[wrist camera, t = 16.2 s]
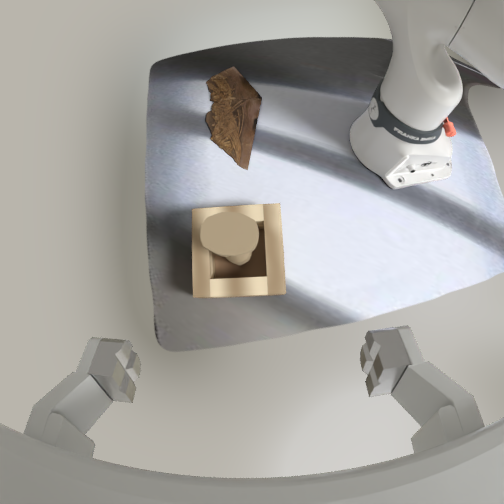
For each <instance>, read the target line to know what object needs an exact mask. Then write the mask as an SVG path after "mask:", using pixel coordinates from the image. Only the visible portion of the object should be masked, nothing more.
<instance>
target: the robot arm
mask: <svg viewBox="0 0 504 504" xmlns="http://www.w3.org/2000/svg"><path fill="white" fill-rule="evenodd" d="M374 1H375V2H376V4H377V5H378V6H379V8H380V9H381V11H382V12H383V14H384V16H385V18H386V20H387V22H388V25H389V27H390V31H391V34H392V39H393V54H392V58H391V62H390V65H389V68H388V70H387V73H386V75H385V78H383V79H382V80H381V81H380V83H379V84H378V86H377V88H376V90H375V92H374V94H373V96H372V99H371V102H370V105H369V107H368V108H367V109H366V111H365V112H364V113H363V114H362V115H361V116H360V117H359V118H358V119H356V120H355V121H354V123H353V124H352V126H351V129H350V143H351V146H352V149H353V151H354V153H355V155H356V156H357V157H358V159H359V160H360V161H361V162H362V163H363V164H364V165H365V166H366V167H367V168H368V169H370V170H371V171H373V172H375V173H376V174H378V175H379V176H381V177H382V179H383V180H384V181H385V182H386V183H387V185H388V186H389V187H391V188H392V189H399V188H404V187H409V186H414V185H419V184H424V183H429V182H434V181H439V180H444V179H448V178H449V177H450V175H451V171H452V162H451V157H452V142H451V138H450V137H452V136H454V135H456V130H455V129H454V127H453V123H452V122H449V121H448V118H447V116H448V115H449V114H450V113H451V111H452V110H453V109H454V108H455V107H456V106H457V104H458V103H459V102H460V100H461V97H462V91H463V88H462V81H461V78H460V75H459V72H458V70H457V68H456V66H455V64H454V63H453V61H452V60H451V58H450V57H449V55H448V53H447V52H446V49H445V47H444V45H445V46H446V47H447V46H448V47H449V48H450V49H452V50H453V51H454V52H456V53H457V54H458V55H460V56H461V57H463V58H464V59H465V60H466V61H468V62H469V63H470V64H471V65H473V66H474V67H475V68H476V69H477V70H479V71H480V72H481V73H482V74H483V75H485V76H486V77H487V78H488V79H489V80H490V81H492V82H493V83H495V84H496V85H498V86H499V87H501V88H502V89H504V0H374ZM446 164H447V165H448V166H447V165H446ZM398 180H400V181H401V182H399V181H398ZM365 340H366V343H365V344H364V345H363V346H362V349H361V353H360V361H361V367H362V371H363V372H365V373H366V374H367V375H368V376H367V379H366V381H365V382H366V386H367V390H368V394H369V397H373V396H379V395H384V394H391V393H392V394H391V395H392V396H393V397H394V398H395V399H396V400H397V401H398V403H400V405H401V406H402V407H403V408H404V409H405V410H406V411H407V412H408V413H409V414H410V415H411V416H412V417H413V418H414V419H415V420H416V421H417V422H418V423H419V424H420V426H421V428H420V430H418V431H417V432H416V433H415V434H414V435H413V437H412V438H411V441H412V445H413V449H414V454H411V455H408V456H404V457H400V458H397V459H393V460H389V461H385V462H381V463H377V464H372V465H367V466H363V467H358V468H352V469H347V470H341V471H335V472H328V473H321V474H312V475H302V476H291V477H277V478H276V477H275V478H215V477H213V478H212V477H198V476H187V475H178V474H169V473H162V472H156V471H149V470H143V469H138V468H133V467H128V466H123V465H118V464H114V463H110V462H106V461H102V460H97V459H94V458H92V457H93V452H94V448H95V443H94V442H93V440H91V439H90V438H89V437H87V436H86V435H85V434H86V433H87V431H88V430H89V429H90V428H91V427H92V426H93V424H94V423H95V422H96V421H97V420H98V418H99V417H100V416H101V415H102V414H103V413H104V412H105V410H106V409H107V408H108V407H109V406H110V405H111V404H112V402H113V401H120V402H129V403H133V399H134V395H135V391H136V386H135V384H134V381H135V380H137V379H138V378H139V375H140V366H141V364H140V359H139V357H138V355H137V353H135V352H134V351H132V347H133V346H132V344H131V343H130V341H129V340H119V339H108V338H97V337H92V338H91V339H90V340H89V341H88V343H87V346H86V348H85V350H84V353H83V355H82V358H81V360H80V363H79V366H78V368H77V370H76V372H72V373H71V374H70V375H68V376H67V377H66V378H65V379H64V380H62V381H61V382H60V383H59V384H58V385H57V386H56V387H54V388H53V389H52V390H51V391H50V392H49V393H47V394H46V395H45V396H44V397H43V398H42V399H41V400H39V401H38V402H37V403H36V404H35V405H34V406H33V409H32V411H31V414H30V417H29V420H28V422H27V425H26V429H25V431H24V434H22V433H20V432H18V431H15V430H13V429H11V428H9V427H7V426H5V425H2V424H0V504H504V417H503V418H501V419H499V420H497V421H495V422H493V423H491V424H489V425H487V426H484V423H483V420H482V418H481V415H480V412H479V410H478V407H477V404H476V401H475V399H474V396H473V395H472V394H470V393H469V392H468V391H466V390H465V389H464V388H463V387H461V386H460V385H459V384H457V383H456V382H455V381H454V380H452V379H451V378H450V377H448V376H447V375H446V374H445V373H443V372H442V371H441V370H440V369H438V368H437V367H436V366H434V365H433V364H432V363H430V362H429V361H427V362H425V360H424V358H423V355H422V353H421V351H420V348H419V346H418V343H417V341H416V339H415V337H414V334H413V332H412V330H411V328H410V327H409V326H408V325H407V326H400V327H395V328H394V327H392V328H385V329H379V330H372V331H368V332H367V334H366V336H365Z"/></svg>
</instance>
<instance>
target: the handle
mask: <svg viewBox="0 0 504 504" xmlns="http://www.w3.org/2000/svg"><path fill="white" fill-rule="evenodd" d="M200 238H201V242H202V244H203V246H204V247H205V248H206V249H208V250H210V251H211V252H213V253H215V254H217V255H219V256H224V257H226V258H227V259H228V260H229V261H230V262H232V263H233V264H237V265H242V264H245V263H246V262H248V261H249V260H250V257H251V254H252V251H253V250H254V249H255V247H256V246H257V243H258V239H259V230H258V226H257V223H256V221H255V220H253V219H252V218H250V217H248V216H246V215H244V214H241V213H237V212H221V213H217V214H214V215H212V216H209V217H207V218H206V219H205V220H204V222H203V224H202V227H201V231H200Z"/></svg>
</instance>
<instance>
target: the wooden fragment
mask: <svg viewBox="0 0 504 504" xmlns="http://www.w3.org/2000/svg"><path fill="white" fill-rule="evenodd" d="M206 84H207V86H208V89H209V91H210V93H211V99H210V101H213V102H214V103H213V105H212V110H211V111H210V112H208V113H207V115H206V122H207V123H208V126H209V127H210V129H211V134H212V136H211V140H212V141H213V142H214V143H215V144H217V145H218V146H219V147H220V148H221V149H223V150H224V151H225V152H226V153H227V154H229V155H230V156H231V157H232V158H233V159H235V162H236V163H237V165H239V166H240V167H242V168H243V169H247V170H248V165H249V160H250V155H251V150H252V144H253V140H254V134H255V129H256V124H257V119H258V115H259V110H260V105H261V100H262V97H261V96H260V95H259V94H258V92H257V91H256V90H255V89H254V88H253V87H252V86H251V85H250V84H249V82H248V81H247V80H246V79H245V78H244V77H243V76H242V75H241V74H240V73H239V72H238V70H237V69H236V68H235V67H231V68H229V69H227V70H225V71H222V72H221V73H219V74H218V75H215V76H212V77H211V78H210V80H208V81H207V82H206Z"/></svg>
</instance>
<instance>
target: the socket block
mask: <svg viewBox="0 0 504 504" xmlns="http://www.w3.org/2000/svg"><path fill="white" fill-rule="evenodd" d="M221 212H237V213H241V214H244V215H246V216H248V217H250V218H252V219H253V220H255V221H256V223H257V226H258V230H259V239H258V243H257V246H256V247H255V249H254V250H253V251H252V254H251V257H250V260H249V261H248V262H246V263H245V264H242V265H237V264H233V263H232V262H230V261H229V260H228V259H227V258H226V257H224V256H219V255H217V254H215V253H213V252H211V251H210V250H208V249H206V248H205V247H204V246H203V244H202V242H201V238H200V231H201V227H202V224H203V222H204V220H205V219H206V218H207V217H209V216H212V215H214V214H217V213H221ZM192 276H193V297H194V298H226V297H250V296H270V295H284V294H286V286H285V268H284V252H283V237H282V223H281V209H280V203H277V204H257V205H240V206H225V207H211V208H198V209H192Z"/></svg>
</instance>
